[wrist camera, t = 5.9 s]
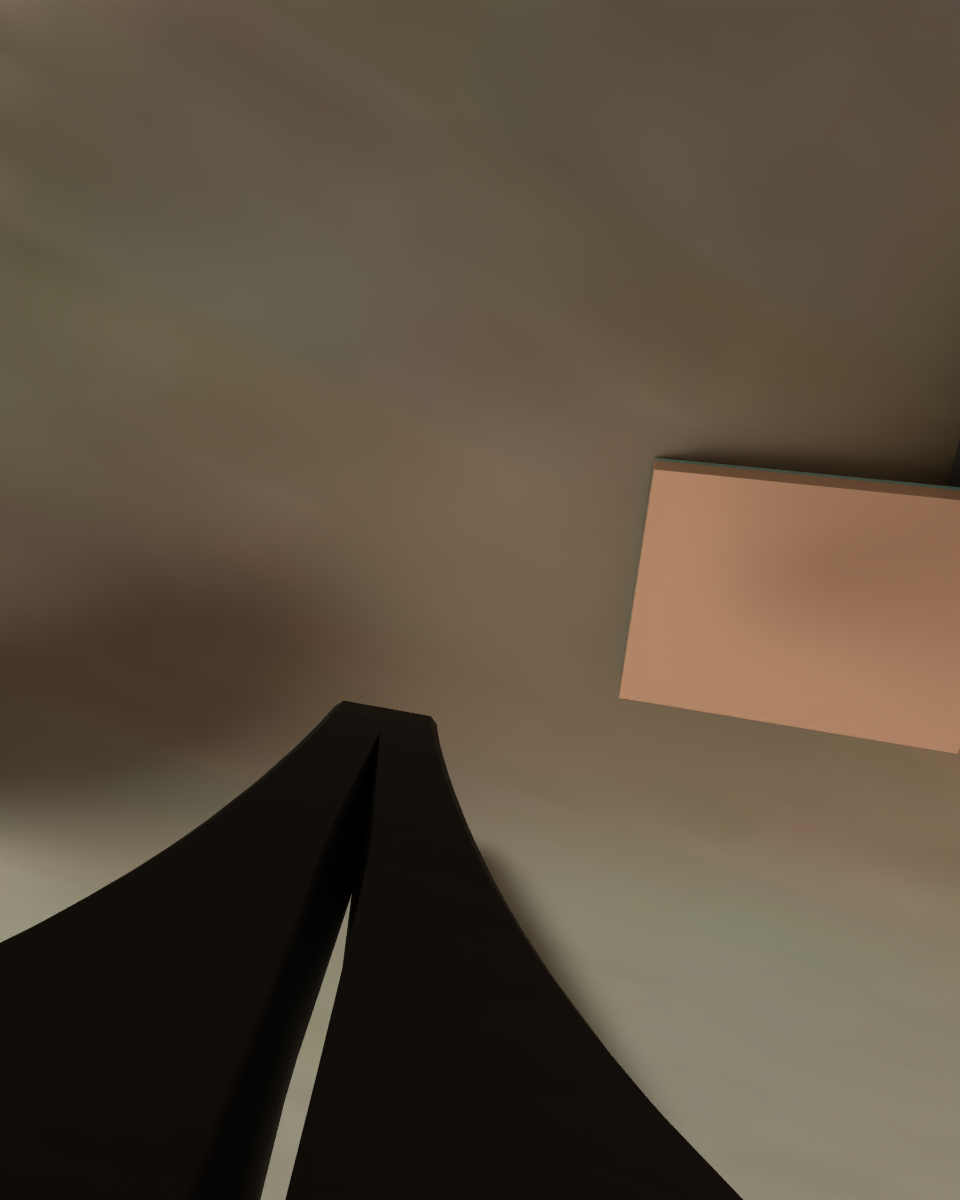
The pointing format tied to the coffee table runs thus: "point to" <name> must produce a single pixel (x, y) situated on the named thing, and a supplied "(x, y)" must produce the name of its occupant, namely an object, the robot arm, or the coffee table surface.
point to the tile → (800, 601)
